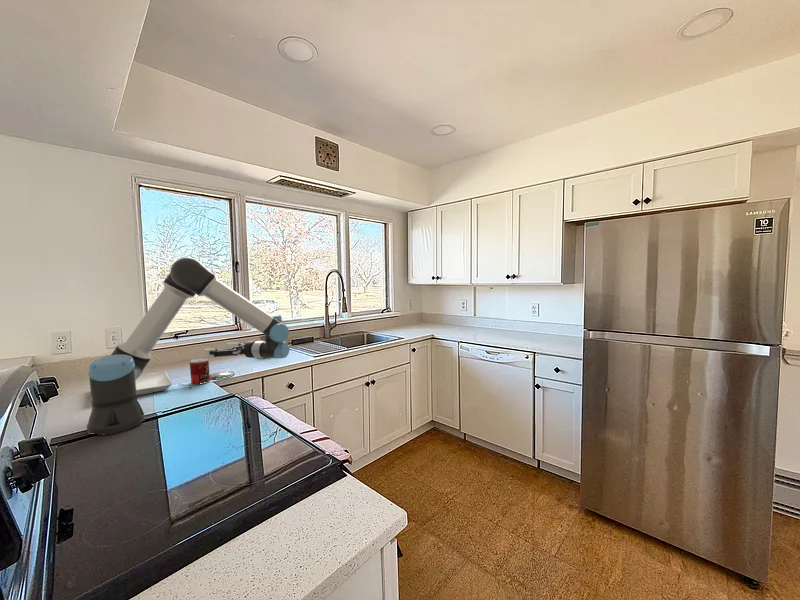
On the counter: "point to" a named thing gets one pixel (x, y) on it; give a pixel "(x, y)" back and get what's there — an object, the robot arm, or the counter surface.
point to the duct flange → (221, 374)
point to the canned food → (199, 370)
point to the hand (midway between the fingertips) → (216, 348)
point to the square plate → (152, 383)
